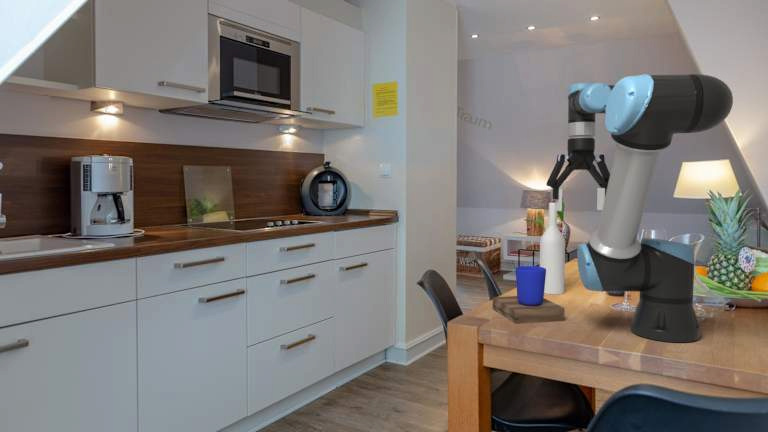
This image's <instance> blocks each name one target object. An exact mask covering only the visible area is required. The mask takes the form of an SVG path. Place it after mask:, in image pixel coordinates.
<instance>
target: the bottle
mask: <svg viewBox="0 0 768 432" xmlns="http://www.w3.org/2000/svg"><path fill="white" fill-rule="evenodd" d="M547 225H548V226H547V227H546V229H545V231H544V233H542V234H541V235H542V236H541V237H540V239H539V266H538V267H543V268H545V269H546V278H545V288H544V295H545V294H546V295H563V294H564V293H565V279H566V277H565V270H566V269H565V266H566V240H565V238H564V236H563V234H562V232H561V231H560V229H559V228H558V211H555V202H548V224H547Z"/></svg>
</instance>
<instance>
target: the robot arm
mask: <svg viewBox="0 0 768 432" xmlns="http://www.w3.org/2000/svg"><path fill="white" fill-rule="evenodd" d="M567 102H568V107H567V111H568V113H567V122H568V123H567V137H568V138H567V146H566V147H567V155H566V154H565V153H562V154H558V155H557V156H556V161H555V165H554V167H553V169H552V171H551V173H550V175H549V177H548V179H547V181H546V182H545V183H546V184H545V185H546V186H547V187H550V188H551V189H552V199H553V200H554V203H555V211H557V212H562V211H563V188H560V187H561V186H562V185H563V183H565V181H566V180H567V179H568V178H569V176H570V175H571V173H573V171H575V170H576V171H582V170H585V171H587V172H588V173H589V174H590V175H591V176H592V177H593V180H594V181H595V182H596V183H597V185H598V186H599V187H597V190H596V191H597V192H596V193H597V194H596V195H597V197H596V198H597V199H596V211H601V215H600V220H599V225H598V227H597V228H598V229H597V230H594V231H593V232H592V233H591V234H590V235H589V238H588V242H587V243H585V242H584V243H580V244H579V245H578V247H577V254H576V255H577V268H578V273H579V277H580V281H581V283H582V285H583V287H584V288H585V289H586V290H588V291H593V292H602V293H603V292H637V293H638V292H639V300H638V304H637V306H636V309H635V311H634V313H633V316H632V317H633V318H632V319H631V321H630V331H631V333H633V334H634V335H637V336H640V337H643V338H646V339H650V340H654V341H659V342H668V343H669V342H670V343H692V342H696V341H698V340H700V337H701V328H700V325H699V322H698V321H699V320H698V319H697V315H696V314H697V313H696V311H695V309H694V304H693V303H694V286H695V285H694V282H695V281H694V280H695V279H694V278H695V265H696V261H695V250H694V248H693V247H692V246H691V245H690V244H688V243H683V242H679V241H674V240H667V239H666V240H665V239H660V238H652V237H642V238H641V240H640V241H639V239H638V234H639V231H640V226H641V223H642V219H643V216H644V212H645V208H646V205H647V201H648V197H649V193H650V190H651V186H652V183H653V179H654V174H655V171H656V167H657V164H658V160H659V156H660V154H661V152H662V151H664V150H666V149H668V148H669V147H670V146H671V143H672V140H673V137H674V135H675V134H676V135H677V134H692V133H693V134H694V133H695V134H696V133H701V132H705V131H708V130H711V129H713V128H715V127H717V126H718V125H720V124H721V123H723V122H724V120H725V119H727V118H728V116H729V114H730V113H731V111H732V108H733V103H734V97H733V92H732V90H731V89H730V87H729V86H728V84H727V83H726V82H725V81H723V80H721V79H719V78H717V77H715V76H712V75H708V74H702V73H700V74H699V73H697V74H696V73H695V74H694V73H692V74H647V73H644V74H640V75H629V76H625V77H623V78H621V79H619V81H618V82H616V84H605V83H601V82H596V83H593V82H578V83H574V84H571V85H570V86H569V87H568V96H567ZM597 114H605V117H604V124H605V128H606V130H607V132H608V133H609V134H610V137H611V138H610V139H611V140H612V141H613V142H614V143H615V145H616V146H615V152H614V156H613V158H612V159H613V160H612V164H611V169H610V171H609V168H608V166H607V164H606V161H605V160H606V159H605V155H604V154H596V155H595V149H596V140H595V138H594V137H595V136H596V115H597ZM594 161H595V163H596V165H597V166H596V165H595V164H594ZM566 162H567V163H568V164H567V165H566V166H565V169H564V170H563V171H562V169H563V166H564V165H565V163H566ZM597 167H598V169H597ZM598 170H599V171H598ZM561 171H562V172H561ZM560 173H561V174H560Z"/></svg>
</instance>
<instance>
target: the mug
mask: <svg viewBox="0 0 768 432" xmlns="http://www.w3.org/2000/svg"><path fill="white" fill-rule="evenodd" d="M545 278H546V269H545V268H543V267H539V266H535V265H523V266H522V265H520V266H517V267H515V281H516V283H515V284H516V296H517V299H518V302H519V303H520V304H522V305H527V306H537V305H541V304H542V302H543V298H544V297H545V294H544V288H545ZM544 299H545V298H544Z"/></svg>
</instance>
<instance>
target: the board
mask: <svg viewBox="0 0 768 432" xmlns="http://www.w3.org/2000/svg"><path fill="white" fill-rule="evenodd" d="M492 310H494V311H496V312H497V313H498V314H500V315H502V316H503V317H504V318H506V319H508V320H509V321H511V322H513V323H514V324H530V323H548V322H562V321H563V322H564V321H565V307H564V306H562V305H559V304H557V303H555V302H553V301H551V300H549V299H547V298H543V302H542V304H541V305H537V306H527V305H522V304H520V303H519V302H518V299H517V295H513V296H512V295H511V296H509V295H508V296H494V297H492Z"/></svg>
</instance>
